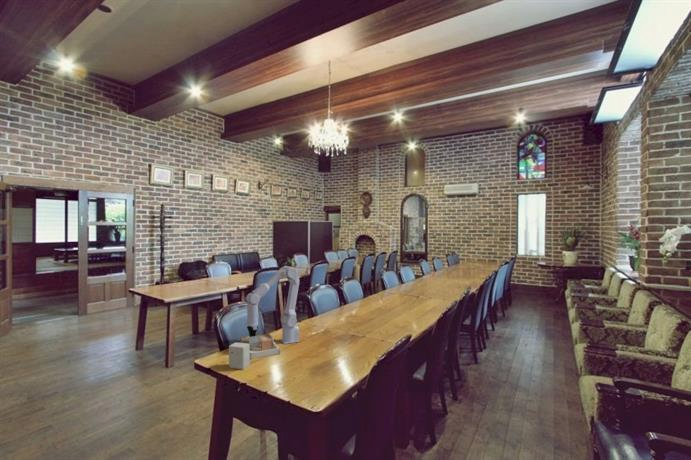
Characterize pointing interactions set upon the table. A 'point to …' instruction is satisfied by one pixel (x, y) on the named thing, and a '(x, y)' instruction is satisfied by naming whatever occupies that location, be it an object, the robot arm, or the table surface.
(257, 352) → the tray
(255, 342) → the slate tile
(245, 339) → the bench plate
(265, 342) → the terracotta tile
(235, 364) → the small box
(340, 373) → the table surface
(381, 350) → the table surface
